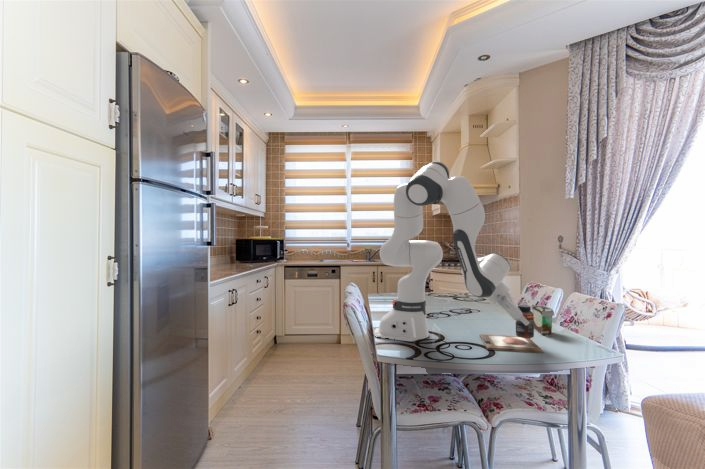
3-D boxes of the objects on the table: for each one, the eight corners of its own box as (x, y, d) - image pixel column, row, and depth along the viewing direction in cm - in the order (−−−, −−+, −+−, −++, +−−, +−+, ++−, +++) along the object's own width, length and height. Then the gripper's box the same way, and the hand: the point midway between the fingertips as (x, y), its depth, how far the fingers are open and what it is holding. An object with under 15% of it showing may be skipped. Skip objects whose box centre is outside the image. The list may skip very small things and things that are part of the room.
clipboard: (487, 349, 115) (487, 345, 115) (479, 336, 130) (479, 332, 130) (543, 352, 111) (543, 348, 111) (528, 338, 126) (528, 335, 126)
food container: (560, 337, 128) (559, 311, 129) (543, 336, 130) (542, 311, 130) (547, 328, 140) (547, 305, 141) (532, 328, 142) (532, 305, 142)
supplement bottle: (535, 336, 119) (535, 305, 119) (531, 340, 115) (531, 308, 115) (518, 332, 123) (518, 303, 123) (513, 336, 119) (513, 305, 119)
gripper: (506, 292, 112) (538, 322, 108) (501, 284, 131) (528, 310, 127) (492, 304, 113) (523, 334, 110) (489, 294, 133) (516, 320, 129)
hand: (526, 321), depth 119 cm, fingers closed on supplement bottle, 6 cm apart
